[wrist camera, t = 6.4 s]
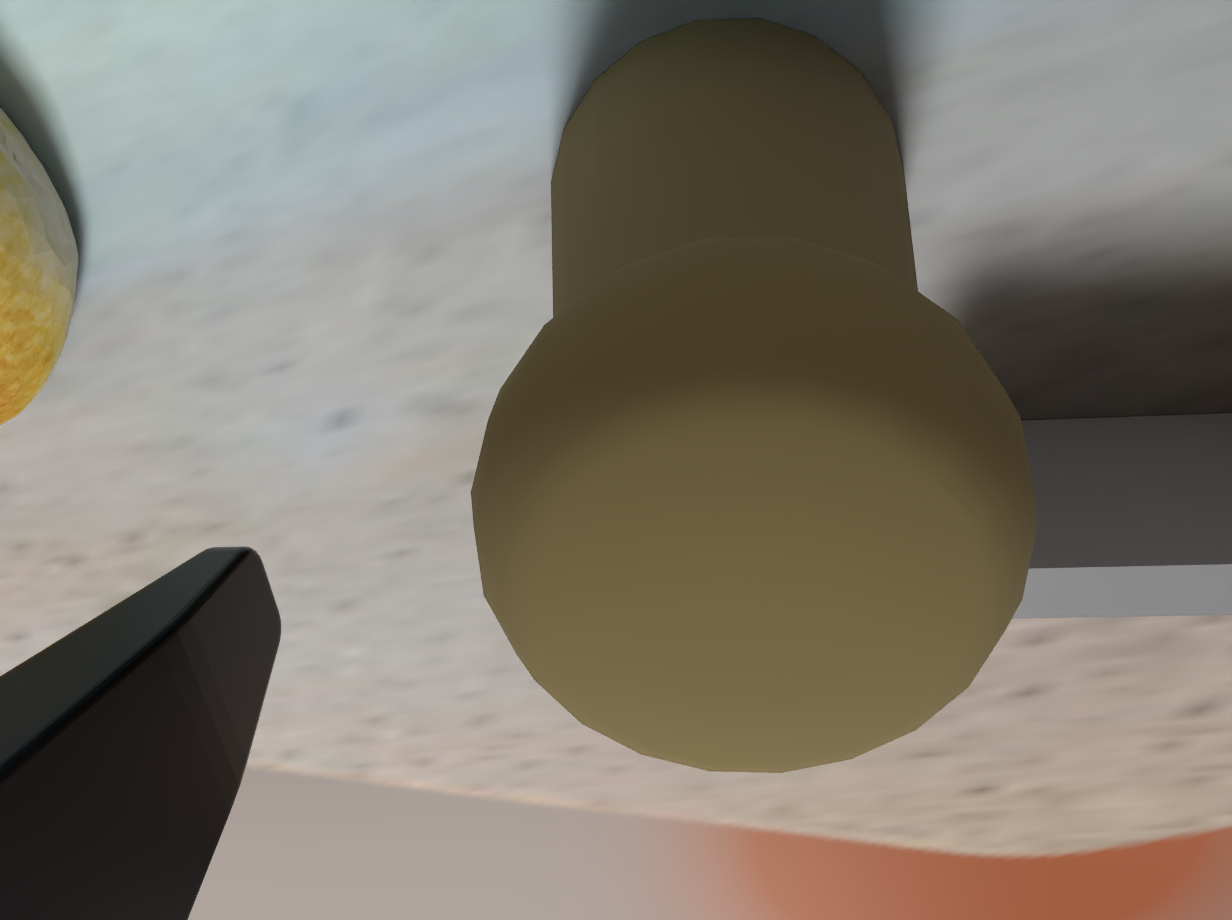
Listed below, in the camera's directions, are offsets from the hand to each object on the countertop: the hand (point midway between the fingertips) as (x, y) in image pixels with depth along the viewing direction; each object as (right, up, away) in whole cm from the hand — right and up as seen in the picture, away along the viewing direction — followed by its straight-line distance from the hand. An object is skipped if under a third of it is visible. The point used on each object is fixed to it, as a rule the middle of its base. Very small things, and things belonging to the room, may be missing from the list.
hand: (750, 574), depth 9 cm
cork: (+1, +6, +9) cm, 10 cm away
